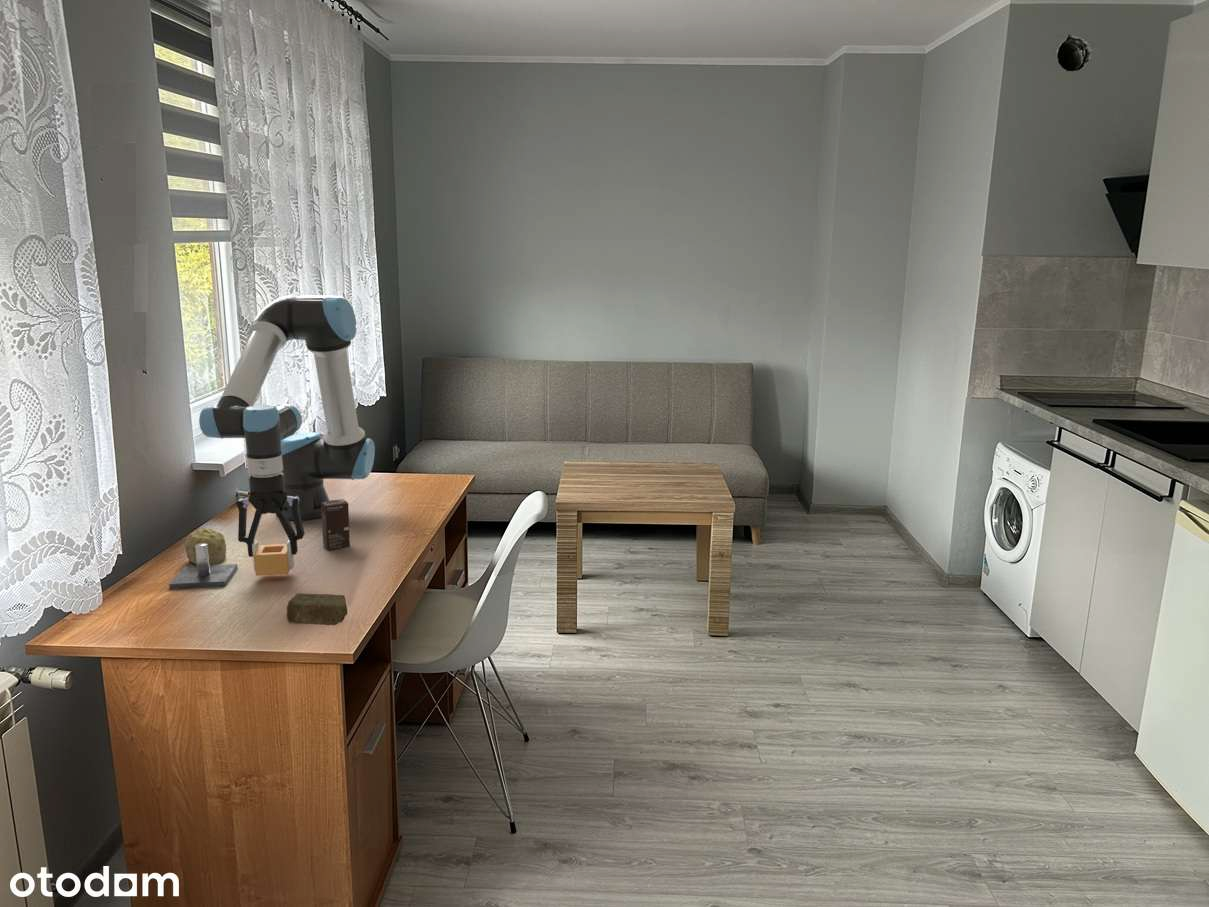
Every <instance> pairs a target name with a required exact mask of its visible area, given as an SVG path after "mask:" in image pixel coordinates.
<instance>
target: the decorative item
mask: <svg viewBox="0 0 1209 907" xmlns="http://www.w3.org/2000/svg"><path fill="white" fill-rule="evenodd" d="M201 543H206V544H208V555H209V565H217V564H219V563H221V562H224V561H225V560H226V559H227V558H226V557H227V556H226V555H227V544H226V539H225V537H224V535H223V534H222V533H221V532H218V531H217V530H214V529H213V528H207V527H204V528H202V529H197V530H195V531H193V532H191V533H189V535H188V536H187V538H186V540H185V543H184V548H185V553H186V557H187V559H188V562H189V563H193V564H195V566H197V558H196V548H195V545H197V544H201Z"/></svg>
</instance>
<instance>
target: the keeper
mask: <svg viewBox="0 0 1209 907" xmlns="http://www.w3.org/2000/svg"><path fill="white" fill-rule="evenodd" d="M195 548H196V558H197V565H188V566H187V565H185V566H184V567H182V569H181V570H180V571H179V572H178V574H176V576H175V577H174V578H173V579H172V580H171V581H170V582H169V583H168V587H169V590H177V589H178V590H179V589H181V590H182V589H196V588H200V589H201V588H219V587H226V586H227V584H228V583H229V582H230V581H231V579H232V577H233V576H234V575H235V573H236V571H237V570H238V569H239V568H238V563H230V564H229V563H228V564H209V555H208V544H206V543H201V544H197V545H195Z"/></svg>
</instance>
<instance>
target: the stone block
mask: <svg viewBox="0 0 1209 907" xmlns="http://www.w3.org/2000/svg"><path fill="white" fill-rule="evenodd" d="M347 606H348V605H347V602H346V597H345V595H344V594H333V593H332V594H331V593H296V594H295V595H294V596H293V597H291V598H290V599H289V600H288V605H286V619H287V621H288V622H289V624H290V623H291V624H306V625H309V624H311V625H323V626H336V625H338V624H339V623H342V622H343V621H344V620H345V618H346V616H347V615H348V607H347Z"/></svg>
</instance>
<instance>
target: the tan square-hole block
mask: <svg viewBox="0 0 1209 907" xmlns="http://www.w3.org/2000/svg"><path fill="white" fill-rule="evenodd" d="M254 562H255V571H254V573H255V576H256V577H257V576H274V575H275V576H278V575H279V576H281V575H288V574H289V572H290V570H289V563H288V552H287V543H279V544H260V545H258V550H257V551H256V553H255V554H254V561H253V563H254Z"/></svg>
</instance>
